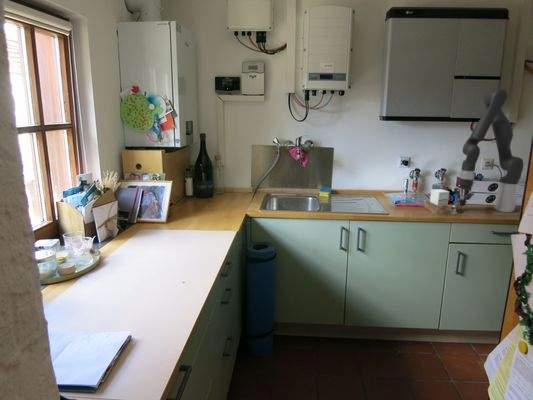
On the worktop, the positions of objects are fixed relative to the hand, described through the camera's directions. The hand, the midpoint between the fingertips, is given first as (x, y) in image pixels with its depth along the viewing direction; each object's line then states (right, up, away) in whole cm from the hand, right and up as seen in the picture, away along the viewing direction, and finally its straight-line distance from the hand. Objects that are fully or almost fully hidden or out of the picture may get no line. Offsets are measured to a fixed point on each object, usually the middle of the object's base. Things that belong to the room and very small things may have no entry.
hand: (462, 205), depth 233 cm
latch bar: (-4, 0, -1) cm, 5 cm away
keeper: (-14, -3, -1) cm, 14 cm away
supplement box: (-15, -3, -1) cm, 16 cm away
